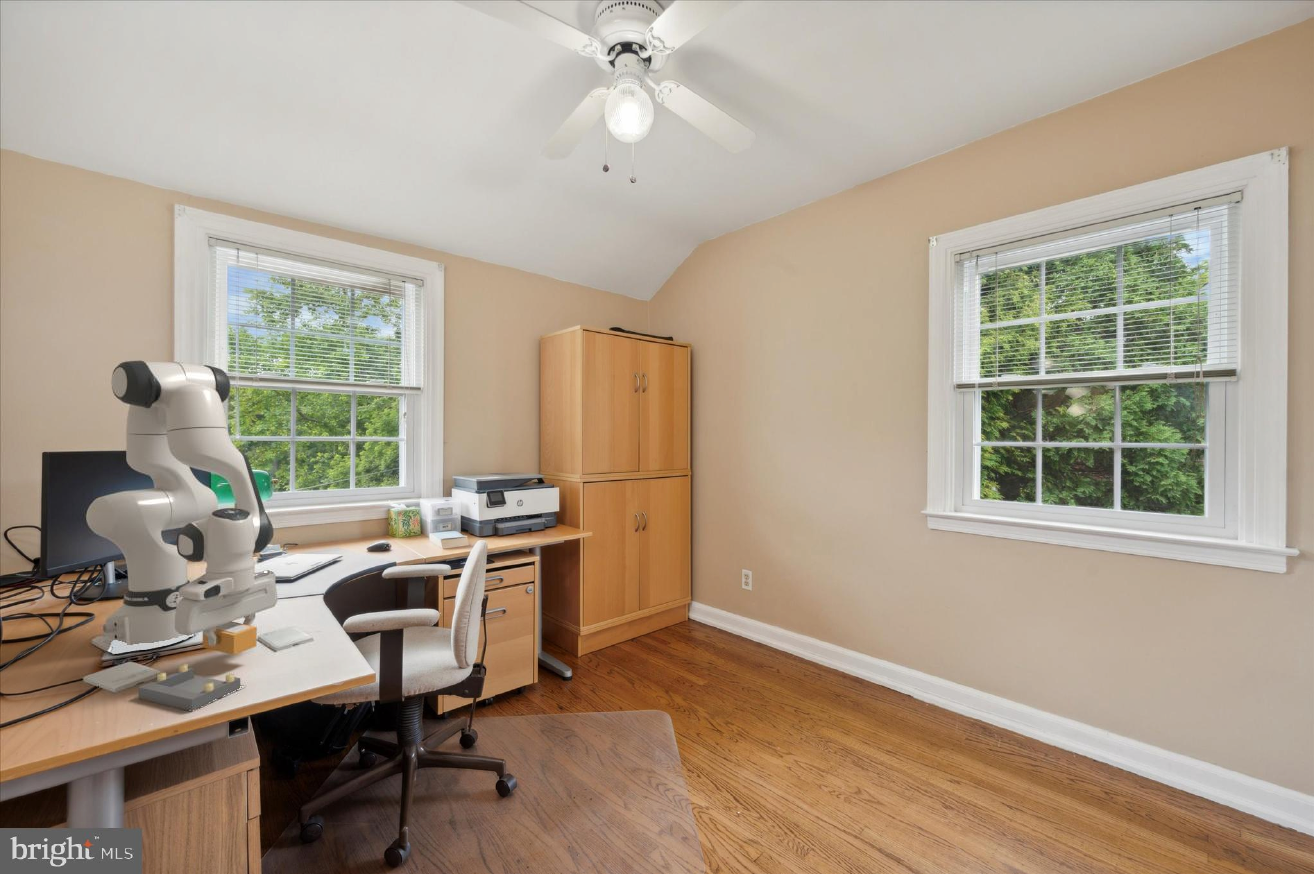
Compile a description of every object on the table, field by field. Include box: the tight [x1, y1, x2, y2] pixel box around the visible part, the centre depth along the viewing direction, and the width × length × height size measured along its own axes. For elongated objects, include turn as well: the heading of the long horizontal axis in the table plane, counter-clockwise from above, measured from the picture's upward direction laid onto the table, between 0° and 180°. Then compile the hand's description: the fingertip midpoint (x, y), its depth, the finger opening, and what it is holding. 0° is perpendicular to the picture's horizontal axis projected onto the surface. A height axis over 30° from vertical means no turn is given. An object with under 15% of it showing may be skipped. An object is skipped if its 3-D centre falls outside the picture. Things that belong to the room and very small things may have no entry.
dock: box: [138, 663, 245, 712], centre depth 111 cm, size 16×10×4 cm, turn 73°
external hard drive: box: [82, 661, 164, 694], centre depth 117 cm, size 2×8×12 cm
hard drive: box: [257, 625, 315, 653], centre depth 137 cm, size 2×8×12 cm
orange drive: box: [202, 621, 258, 656], centre depth 123 cm, size 10×5×5 cm, turn 73°
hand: (229, 639), depth 123 cm, fingers closed on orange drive, 5 cm apart
